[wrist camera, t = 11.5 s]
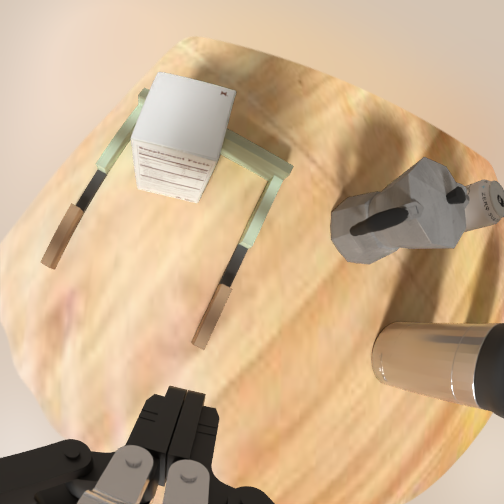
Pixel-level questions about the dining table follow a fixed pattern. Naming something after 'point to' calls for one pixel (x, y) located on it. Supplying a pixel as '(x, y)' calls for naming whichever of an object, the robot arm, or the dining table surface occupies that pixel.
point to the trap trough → (274, 174)
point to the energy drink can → (484, 204)
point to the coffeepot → (402, 215)
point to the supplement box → (180, 135)
